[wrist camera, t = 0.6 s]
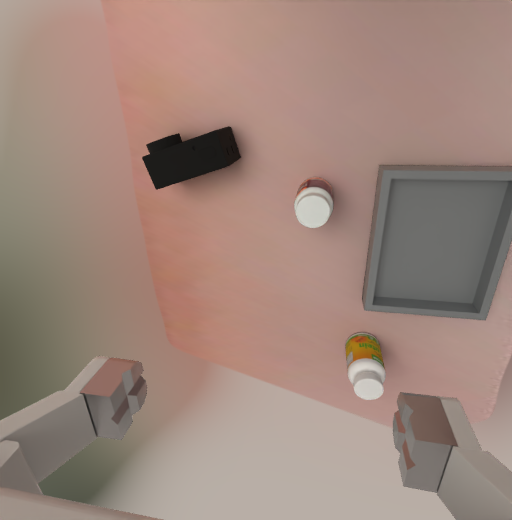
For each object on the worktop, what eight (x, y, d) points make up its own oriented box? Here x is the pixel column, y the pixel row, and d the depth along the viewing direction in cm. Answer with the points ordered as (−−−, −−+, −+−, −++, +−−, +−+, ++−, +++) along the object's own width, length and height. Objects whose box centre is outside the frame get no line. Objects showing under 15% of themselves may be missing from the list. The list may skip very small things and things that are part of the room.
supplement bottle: (384, 337, 54) (395, 382, 46) (371, 361, 57) (380, 408, 48) (352, 327, 55) (356, 370, 46) (340, 351, 57) (343, 396, 49)
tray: (379, 165, 44) (383, 170, 41) (517, 166, 41) (533, 171, 38) (362, 297, 52) (364, 310, 49) (475, 306, 49) (485, 320, 46)
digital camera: (228, 116, 45) (212, 119, 38) (241, 157, 47) (229, 166, 40) (161, 141, 48) (136, 147, 41) (176, 178, 50) (155, 190, 43)
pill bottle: (302, 173, 46) (297, 187, 38) (336, 181, 46) (338, 197, 38) (294, 206, 48) (288, 226, 41) (327, 214, 48) (327, 235, 40)
